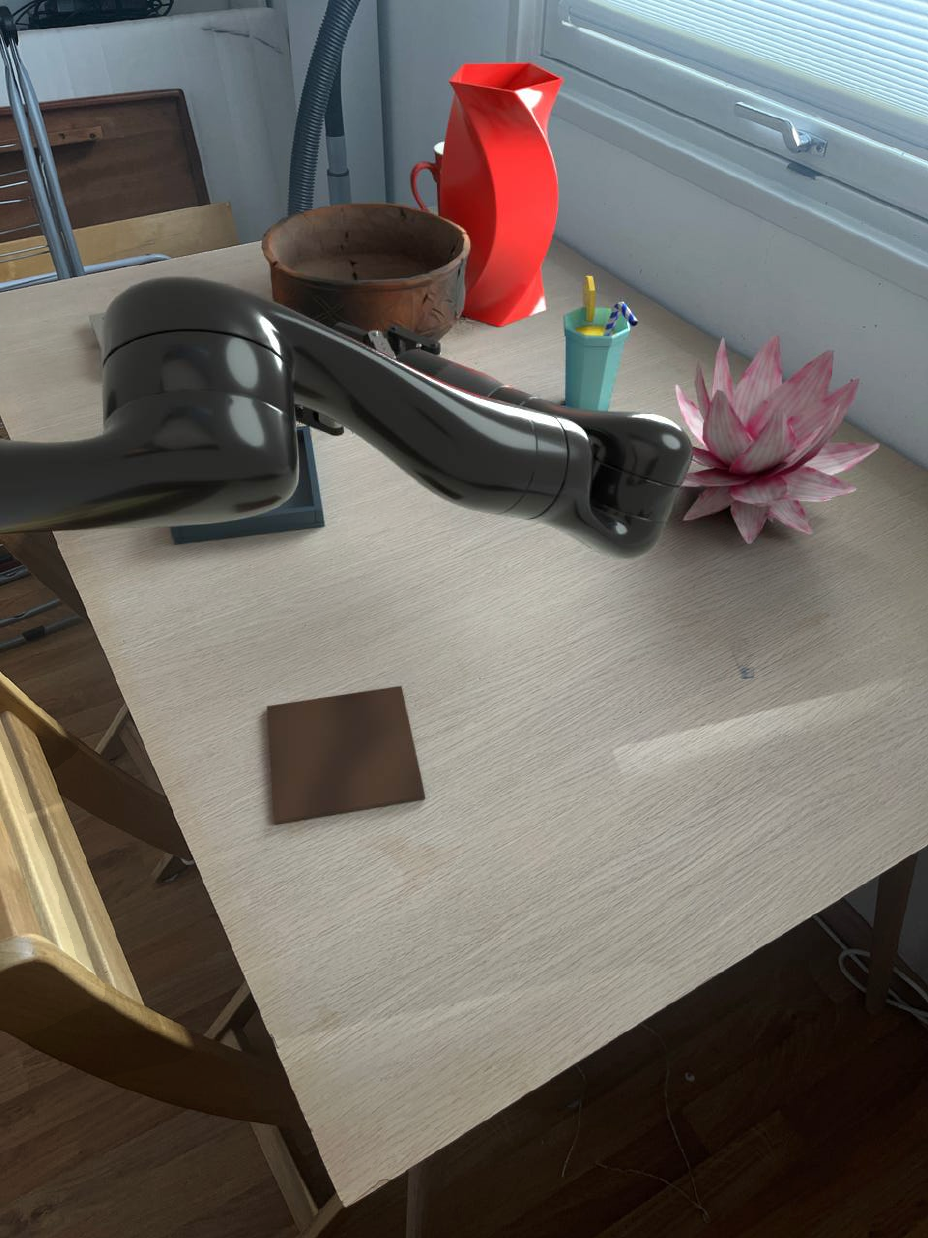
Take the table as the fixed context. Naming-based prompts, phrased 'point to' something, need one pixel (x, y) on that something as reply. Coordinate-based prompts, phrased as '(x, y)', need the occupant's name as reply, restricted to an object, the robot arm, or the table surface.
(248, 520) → the tray
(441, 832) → the table surface
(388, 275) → the bowl
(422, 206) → the mug
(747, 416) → the decorative flower
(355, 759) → the coaster
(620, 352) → the cup
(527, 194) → the vase
